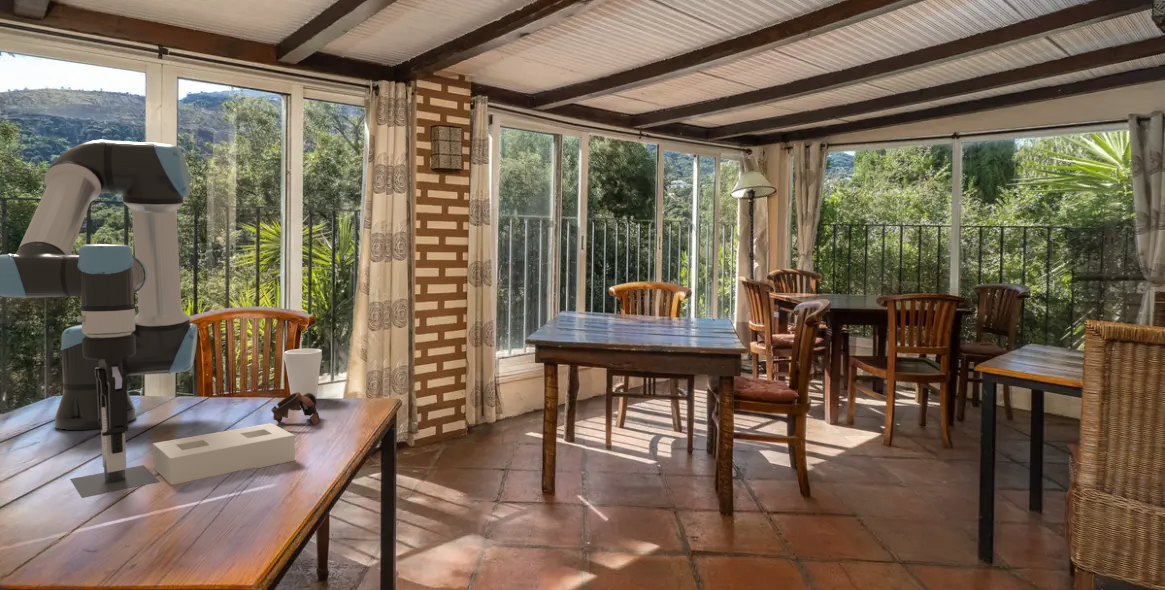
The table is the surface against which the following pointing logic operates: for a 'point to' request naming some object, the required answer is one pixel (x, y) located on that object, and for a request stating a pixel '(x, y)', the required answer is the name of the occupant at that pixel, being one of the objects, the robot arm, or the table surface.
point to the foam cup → (303, 370)
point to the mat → (98, 485)
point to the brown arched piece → (297, 407)
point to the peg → (110, 476)
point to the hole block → (223, 452)
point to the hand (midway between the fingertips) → (114, 467)
